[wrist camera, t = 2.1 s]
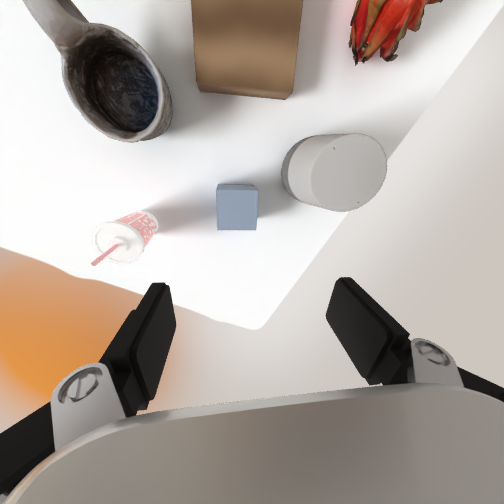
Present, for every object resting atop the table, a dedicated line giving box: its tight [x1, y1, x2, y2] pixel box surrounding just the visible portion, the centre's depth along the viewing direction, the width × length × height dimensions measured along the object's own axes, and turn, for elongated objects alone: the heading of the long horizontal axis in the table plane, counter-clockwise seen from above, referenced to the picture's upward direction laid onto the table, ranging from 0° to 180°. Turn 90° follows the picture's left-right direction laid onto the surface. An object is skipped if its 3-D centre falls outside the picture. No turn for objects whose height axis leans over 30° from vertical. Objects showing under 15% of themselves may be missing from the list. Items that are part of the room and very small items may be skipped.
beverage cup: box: [91, 211, 158, 266], centre depth 26 cm, size 6×6×14 cm
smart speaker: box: [281, 134, 387, 212], centre depth 26 cm, size 10×9×14 cm
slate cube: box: [216, 184, 259, 230], centre depth 30 cm, size 6×6×6 cm
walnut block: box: [191, 0, 303, 100], centre depth 22 cm, size 12×12×4 cm
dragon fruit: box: [349, 0, 443, 66], centre depth 21 cm, size 8×8×12 cm
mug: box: [23, 0, 172, 143], centre depth 20 cm, size 10×12×10 cm
